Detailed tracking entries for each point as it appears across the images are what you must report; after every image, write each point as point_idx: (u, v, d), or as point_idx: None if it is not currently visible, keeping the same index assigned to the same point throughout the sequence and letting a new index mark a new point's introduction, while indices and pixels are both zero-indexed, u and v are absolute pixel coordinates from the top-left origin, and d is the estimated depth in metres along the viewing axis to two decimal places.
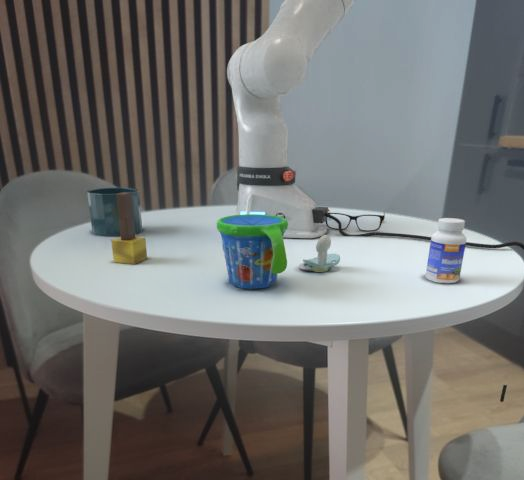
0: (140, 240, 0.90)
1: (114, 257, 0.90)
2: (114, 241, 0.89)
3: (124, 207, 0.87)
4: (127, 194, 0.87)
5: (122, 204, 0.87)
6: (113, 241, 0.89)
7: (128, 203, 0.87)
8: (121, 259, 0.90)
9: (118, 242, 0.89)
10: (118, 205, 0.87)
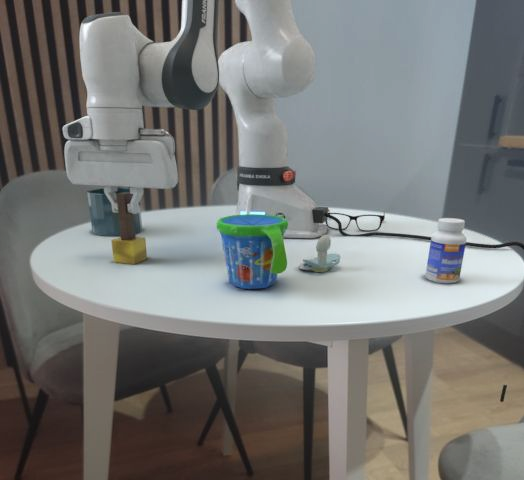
0: (140, 240, 0.90)
1: (114, 257, 0.90)
2: (114, 241, 0.89)
3: (125, 207, 0.87)
4: (127, 194, 0.87)
5: (122, 204, 0.87)
6: (113, 241, 0.89)
7: None
8: (121, 259, 0.90)
9: (118, 242, 0.89)
10: (118, 205, 0.87)
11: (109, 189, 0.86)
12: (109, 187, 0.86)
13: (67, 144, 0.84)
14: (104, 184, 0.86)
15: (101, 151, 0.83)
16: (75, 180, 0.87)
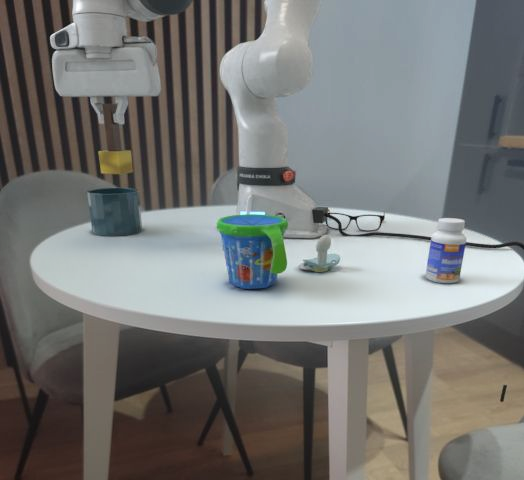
0: (126, 152, 0.95)
1: (101, 168, 0.95)
2: (101, 152, 0.93)
3: (110, 117, 0.91)
4: (113, 105, 0.91)
5: (108, 114, 0.91)
6: (100, 152, 0.93)
7: None
8: (108, 170, 0.94)
9: (105, 152, 0.93)
10: (104, 115, 0.91)
11: (95, 100, 0.91)
12: (95, 98, 0.91)
13: (54, 54, 0.88)
14: (90, 94, 0.90)
15: (87, 60, 0.88)
16: (63, 92, 0.91)
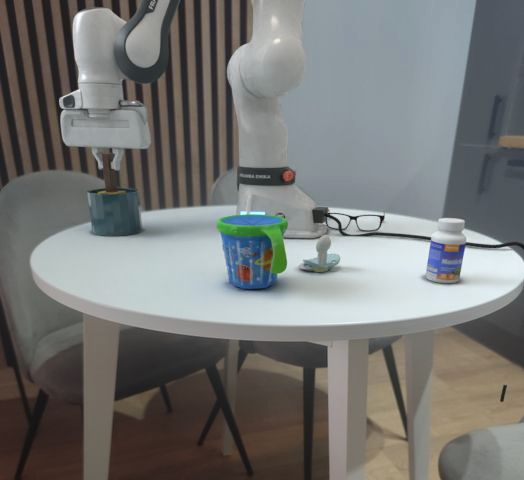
0: (121, 192, 1.12)
1: None
2: (100, 193, 1.11)
3: (108, 164, 1.08)
4: (110, 154, 1.08)
5: (106, 162, 1.08)
6: (99, 193, 1.11)
7: (111, 161, 1.09)
8: None
9: (103, 193, 1.10)
10: (103, 163, 1.08)
11: (96, 150, 1.08)
12: (96, 148, 1.08)
13: (62, 113, 1.05)
14: (92, 146, 1.07)
15: (89, 119, 1.05)
16: (69, 143, 1.09)
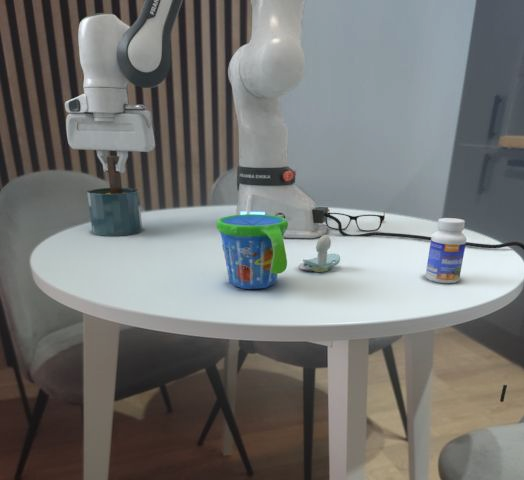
0: None
1: None
2: None
3: (113, 167, 1.10)
4: (115, 157, 1.10)
5: (111, 165, 1.10)
6: None
7: None
8: None
9: None
10: (108, 166, 1.10)
11: (101, 153, 1.10)
12: (101, 151, 1.10)
13: (68, 117, 1.07)
14: (97, 148, 1.09)
15: (95, 122, 1.07)
16: (74, 146, 1.10)
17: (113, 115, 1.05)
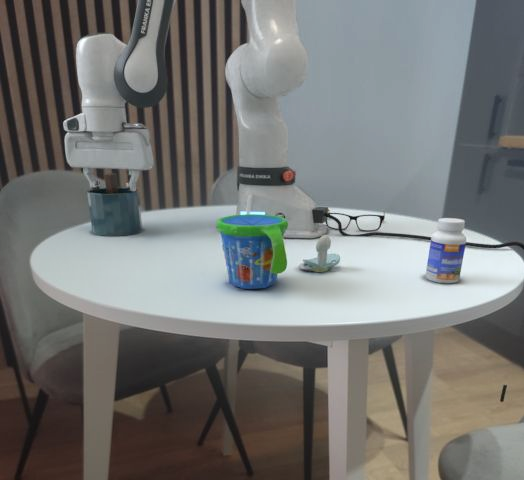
0: None
1: None
2: None
3: (111, 185, 1.10)
4: (113, 175, 1.10)
5: (109, 183, 1.10)
6: None
7: (114, 182, 1.11)
8: None
9: None
10: (106, 183, 1.10)
11: (87, 170, 1.11)
12: (87, 169, 1.11)
13: (67, 135, 1.07)
14: (96, 167, 1.09)
15: (93, 141, 1.07)
16: (73, 164, 1.10)
17: (111, 134, 1.05)
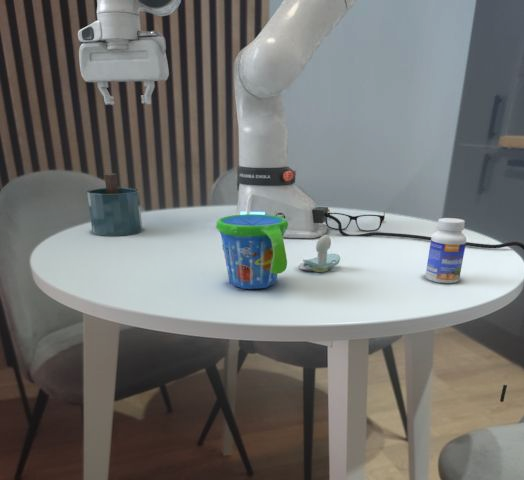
0: None
1: None
2: None
3: (111, 185, 1.10)
4: (113, 175, 1.10)
5: (109, 183, 1.10)
6: None
7: (114, 182, 1.11)
8: None
9: None
10: (106, 183, 1.10)
11: (102, 84, 1.11)
12: (102, 82, 1.10)
13: (81, 46, 1.07)
14: (110, 79, 1.09)
15: (108, 51, 1.07)
16: (87, 77, 1.10)
17: (127, 42, 1.04)
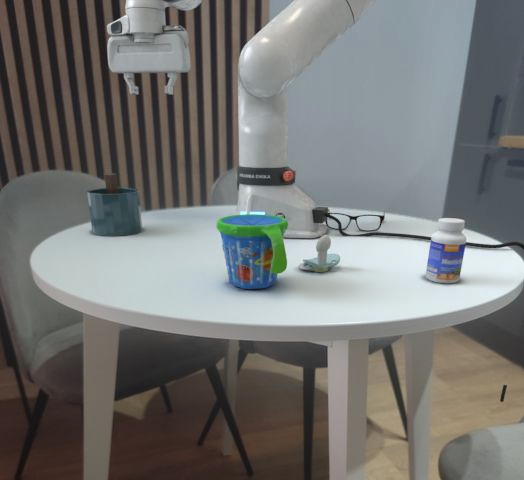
0: None
1: None
2: None
3: (111, 185, 1.10)
4: (113, 175, 1.10)
5: (109, 183, 1.10)
6: None
7: (114, 182, 1.11)
8: None
9: None
10: (106, 183, 1.10)
11: (127, 75, 1.18)
12: (128, 73, 1.18)
13: (110, 39, 1.15)
14: (136, 70, 1.17)
15: (135, 44, 1.14)
16: (114, 69, 1.18)
17: (152, 36, 1.12)
